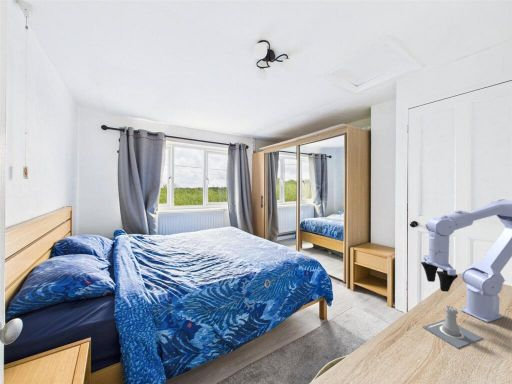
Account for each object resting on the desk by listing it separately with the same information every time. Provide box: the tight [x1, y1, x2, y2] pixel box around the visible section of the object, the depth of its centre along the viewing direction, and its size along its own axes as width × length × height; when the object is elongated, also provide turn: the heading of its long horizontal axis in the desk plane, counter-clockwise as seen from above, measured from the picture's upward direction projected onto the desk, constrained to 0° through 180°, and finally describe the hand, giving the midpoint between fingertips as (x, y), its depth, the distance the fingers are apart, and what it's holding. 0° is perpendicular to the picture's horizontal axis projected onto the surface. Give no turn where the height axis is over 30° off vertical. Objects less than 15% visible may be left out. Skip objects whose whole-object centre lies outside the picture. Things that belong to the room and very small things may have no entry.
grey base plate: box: [422, 318, 484, 349], centre depth 71 cm, size 12×10×1 cm
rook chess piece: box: [442, 305, 460, 336], centre depth 71 cm, size 4×4×8 cm
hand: (437, 285), depth 82 cm, fingers open, 7 cm apart
